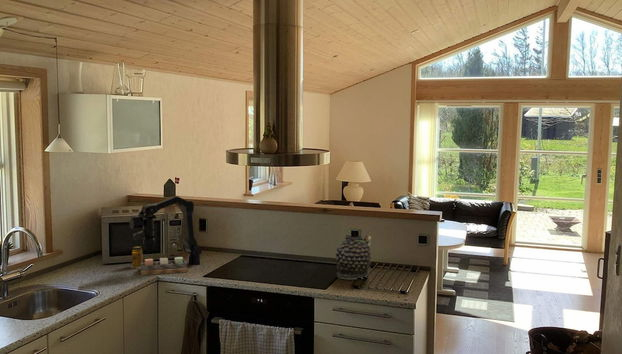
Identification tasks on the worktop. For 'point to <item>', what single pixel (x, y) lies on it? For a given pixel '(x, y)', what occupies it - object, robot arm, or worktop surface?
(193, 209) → the robot arm
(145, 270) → the keypad
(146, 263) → the key terracotta
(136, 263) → the condiment
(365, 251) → the pine cone figurine
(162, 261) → the key cream
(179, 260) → the key sage
